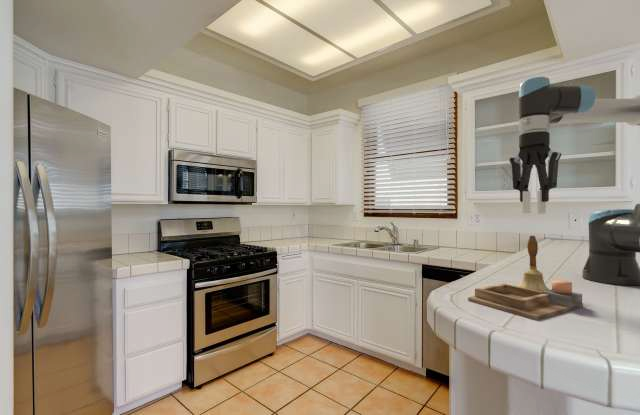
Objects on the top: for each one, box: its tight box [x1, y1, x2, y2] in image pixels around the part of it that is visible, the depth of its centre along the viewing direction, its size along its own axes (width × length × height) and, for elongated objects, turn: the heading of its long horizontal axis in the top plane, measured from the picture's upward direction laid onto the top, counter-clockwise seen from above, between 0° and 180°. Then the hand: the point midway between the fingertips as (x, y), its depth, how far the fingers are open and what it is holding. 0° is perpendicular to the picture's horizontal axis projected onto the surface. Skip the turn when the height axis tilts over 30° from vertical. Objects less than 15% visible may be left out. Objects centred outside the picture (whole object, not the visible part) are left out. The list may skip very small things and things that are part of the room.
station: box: [467, 283, 584, 321], centre depth 83 cm, size 20×17×3 cm
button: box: [551, 279, 573, 294], centre depth 82 cm, size 4×4×2 cm
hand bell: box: [517, 235, 550, 292], centre depth 97 cm, size 8×8×16 cm
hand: (533, 213), depth 96 cm, fingers open, 3 cm apart
